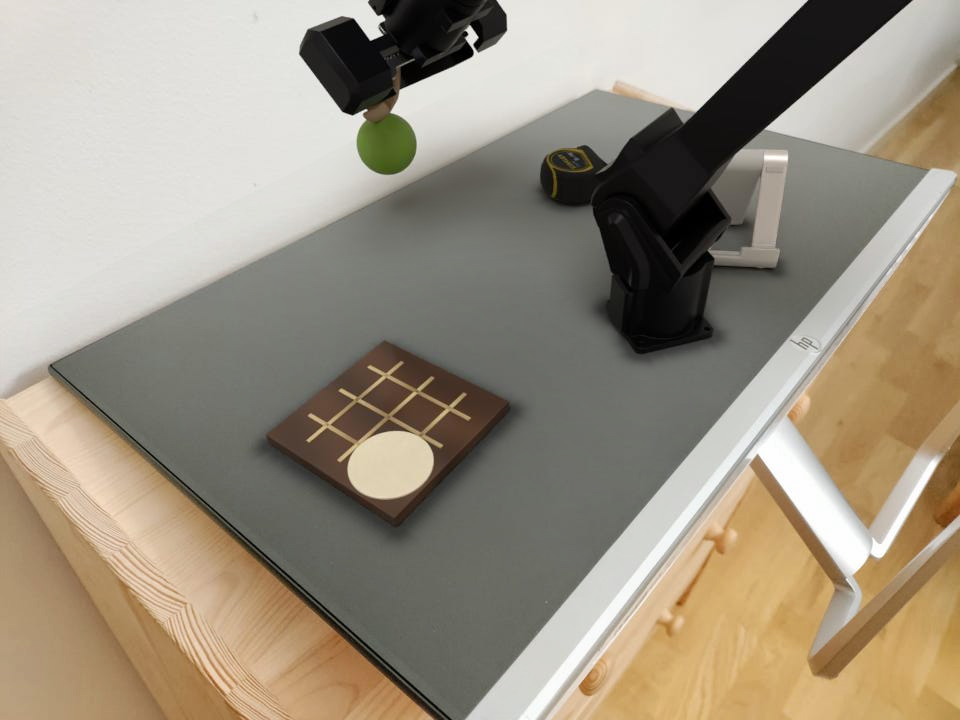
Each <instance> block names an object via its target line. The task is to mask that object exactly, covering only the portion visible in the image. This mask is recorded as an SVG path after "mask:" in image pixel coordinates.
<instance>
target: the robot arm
mask: <svg viewBox="0 0 960 720" xmlns="http://www.w3.org/2000/svg"><path fill="white" fill-rule="evenodd" d="M913 1H914V0H806V2H804V3H803V5H801V7H799V8H798V9H797V11H795V13H793V15H792V16H791V17H789V18H788V19H787V20H786V21H785V22H784V23H783V25H781V27H780V28H778V29H777V31H775V32H774V34H772V35H771V37H769V38H768V39H767V41H765V42H764V43H763V44H762V45H761V46H760V47H759V48H758V49H757V50H756V52H755V53H753V55H751V56H750V57H749V59H747V60H746V61H745V62H744V63H743V64H742V66H740V67H739V69H737V70H736V72H735V73H733V75H732V76H730V77H729V78H728V79H727V80H726V82H725V83H723V85H721V86H720V87H719V89H717V90H716V91H715V93H714V94H712V95H711V97H710V98H708V100H707V101H705V103H703V105H701V106H700V108H698V109H697V110H696V112H695V113H693V114H692V115H691V116H690V117H689V118H687V119H685V121H683V120H682V119H681V117H680V116H679V114H678V112H677V111H676V109H675V108H674V107H673V106H670V107H669V108H668V109H667V110H666V111H664V112H663V113H661V114H660V115H659V116H658V117H656V118H655V119H653V120H652V121H651V122H650V123H648V124H647V125H646V126H645V127H643V128H642V129H640V130H639V131H638V132H636V133H635V134H634V135H632V136H631V137H630V138H629V139H628V140H627V142H626V143H625V144H624V146H623V147H622V149H621V150H620V152H619V153H618V155H617V157H615V158H614V159H613V160H612V161H611V162H609V163H607V164H608V165H607V166H605V167H604V168H603V169H601V170H600V171H599V172H598V173H596V174H595V176H594V177H595V179H597V180H600V181H602V183H601V184H600V185H598V186H597V188H596V189H595V191H594V192H593V194H592V198H591V200H589V201H590V205H591V207H592V216H593V218H594V220H595V223H596V226H597V228H598V230H599V233H600V237H601V241H602V245H603V248H604V252H605V256H606V259H607V263H608V267H609V270H610V273H611V274H612V275H611V281H610V291H609V292H610V293H609V299H607V300H605V304H604V305H605V309H606V311H607V312H608V316H609V318H610V319H611V320H612V322H613V323H614V325H615V326H616V328H617V329H618V331H619V332H620V333H621V334H622V335H624V337H625V339H626V340H627V341H628V343H629V344H630V346H631V347H632V348H633V350H634V351H635V352H636V353H639V354H640V353H641V354H642V353H643V354H644V353H647V352H651V351H656V350H661V349H664V348H668V347H673V346H677V345H681V344H685V343H689V342H694V341H698V340H703V339H706V338H710V337H712V336H713V334H714V330H715V329H714V327H713V326H712V325H711V324H710V322H709V321H708V320H707V319H706V317H705V311H706V305H707V302H708V301H707V300H708V295H709V291H710V285H711V281H712V275H713V270H714V266H715V265H714V261H715V258H714V257H713V256H712V255H711V254H710V253H709V252H708V251H707V250H708V249H709V248H710V247H711V248H712V246H713V245H714V244H715V243H717V242H718V241H719V240H720V239H721V238H722V237H723V235H724V234H725V232H726V231H727V229H728V228H729V226H731V225H730V223H731V221H732V219H731V217H730V215H729V214H728V212H727V211H726V210H725V208H724V207H723V205H722V204H721V202H720V201H719V199H718V198H717V197H716V195H715V194H714V192H713V191H712V189H711V187H712V186H713V185H714V183H715V182H716V181H717V180H718V178H719V177H720V176H721V175H722V173H723V172H724V170H725V169H726V167H727V166H728V164H729V163H730V161H731V160H732V158H733V157H734V156H735V154H736V153H737V152H739V151H740V150H741V149H744V148H745V147H746V146H747V145H748V144H749V143H751V142H752V141H753V140H754V139H755V138H756V137H757V136H758V135H760V134H761V133H762V132H763V131H764V130H766V128H768V127H769V126H770V125H771V124H772V123H774V122H775V121H776V120H777V119H778V118H779V117H781V115H783V114H784V113H785V112H786V111H787V110H788V109H790V108H791V107H792V106H793V105H794V104H796V103H797V102H798V101H799V100H800V99H801V98H802V97H804V96H805V95H806V94H807V93H808V92H809V91H810V90H812V89H813V88H814V87H815V86H816V85H817V84H819V83H820V82H821V81H822V80H824V78H825V77H826V76H828V75H829V74H830V73H831V72H832V71H833V70H835V69H836V68H837V67H838V66H839V65H840V64H842V63H843V62H844V61H845V60H846V59H848V57H850V56H851V55H852V54H853V53H854V52H856V51H857V50H858V49H859V48H860V47H861V46H863V45H864V44H865V43H866V42H867V41H868V40H869V39H870V38H872V37H873V36H874V35H875V34H876V33H877V32H878V31H880V30H881V29H882V28H883V27H884V26H885V25H886V24H887V23H889V22H891V20H892V19H893V18H895V17H896V16H897V15H898V14H900V12H901V11H903V10H904V9H905V8H906V7H908V6H909V5H910V4H911V3H912V2H913ZM367 3H368V6H369V7H370V8H371V9H372V11H373V12H374V13H375V15H376V16H377V17H380V16H382V17H383V18H384V20H383V21H381V22H379V24H378V25H377V29H378V31H379V32H380V33H381V36H378V37H376V38H374V39H370V38H369V36H368V35H367V34H366V32H365V31H364V30H363V28H362V27H361V25H360V24H359V23H358V21H357V20H356V19H355V18H354V17H349V16H344V15H341V16H337V17H335V18H333V19H329V20H328V21H325V22H322V23H320V24H317V25H315V26H312V27H309V28H307V29H306V31H305V33H304V36H303V38H302V40H301V42H300V44H299V50H298V55H299V56H300V58H301V59H302V60H303V62H304V63H305V65H306V66H307V67H308V69H309V70H310V72H312V74H313V75H314V76H315V78H316V79H317V81H318V82H319V83H320V84H321V86H322V87H323V89H325V91H326V92H327V94H328V96H330V98H331V99H332V101H333V102H334V103H335V104H336V106H337V107H338V108H339V110H340V111H341V113H344V114H346V115H349V116H352V117H353V116H356V115H357V114H359V113H361V112H363V111H365V110H367V108H369V107H374V106H376V105H378V104H380V103H382V102H384V101H386V100H388V99H390V98H392V97H394V96H396V95H397V93H396V92H395V90H394V89H393V80H394V79H395V77H396V76H397V71H396V68H398V67H401V80H400V90H403V89H405V88H409V87H410V86H412V85H415V84H417V83H419V82H421V81H424V80H425V79H429V78H430V77H433V76H435V75H437V74H440V73H443V72H445V71H447V70H449V69H451V68H454V67H455V66H458V65H460V64H462V63H464V62H465V61H467V60H470V59H471V58H473V56H474V55H475V51H476V52H477V53H478V54H480V53H482V52H483V51H486V50H487V49H489V48H491V47H493V46H496V45H497V43H499V41H500V40H501V39H502V38H503V36H504V35H505V34H506V33H507V32H508V15H507V13H506V11H505V10H504V9H503V7H502V6H501V4H500V3H499V1H498V0H368V1H367ZM469 27H471V29H472V31H473V32H474V33H475V35H476V36H477V39H476V40H475V41H474V42H473V44H472V45H471V44H470V43H469V41H468V40H467V38H468V36H469V35H470V34H469V32H468V31H467V30H468V28H469ZM472 46H473V47H472ZM473 48H474V49H475V51H474V49H473Z"/></svg>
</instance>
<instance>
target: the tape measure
mask: <svg viewBox="0 0 960 720" xmlns="http://www.w3.org/2000/svg"><path fill="white" fill-rule="evenodd" d="M608 164H609V163H607V162H606V161H605V160H603V158H601V157H600V156H599V155H598V154H597V153H596V152H595V151H594V150H593V149H592V148H591V146H588V145H587V144H583V145H579V146H576V147H565V148H564V147H563V148H558V149H555V150H553V151H551V152H550V153H548V154H546V155H545V157H544V158H543V160H542V162H541V164H540V170H539V180H540V181H539V182H540V184H541V187H542V189H543V191H544V192H545V193H546V194H547V195H548V196H549V197H551V198H553V199H554V200H557V201H559V202H564V203H569V204H570V203H571V204H572V203H573V204H575V203H576V204H578V203H579V204H581V203H587V202H589V201H591V198H592V194H593V192H594V191H595V189H596V188H597V186H598V185H600V184H601V183H602V181H600V180H597V179H595V177H594V176H595V174H596V173H598V172H599V171H600V170H601V169H603V168H604V167H605V166H607V165H608Z"/></svg>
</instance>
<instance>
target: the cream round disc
mask: <svg viewBox="0 0 960 720" xmlns="http://www.w3.org/2000/svg"><path fill="white" fill-rule="evenodd" d="M433 466H434V456H433V452H432V450H431V448H430V446H429V445H428V444H427V442H426V441H425V440H423V439H422V438H421V437H419V436H417V435H415V434H412V433H409V432H404V431H389V432H384V433H380V434H377V435H375V436H372V437H370V438H368V439H367V440H365V441H364V442H363V443H361V444H360V445H359V446H358V447H357V448H356V449H355V451H354V452H353V453H352V455H351V457H350V460H349V463H348V476H349V480H350V482H351V484H352V485H353V487H354V488H355V489H356V490H357V491H359V492H360V493H361V494H363V495H365V496H368V497H370V498H374V499H381V500H388V499H396V498H400V497H403V496H406V495H408V494H410V493H412V492H414V491H416V490H417V489H418V488H420V487H421V486H422V485H423V484H424V483H425V482H426V481H427V480H428V478H429V476H430V475H431V473H432V470H433Z"/></svg>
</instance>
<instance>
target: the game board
mask: <svg viewBox="0 0 960 720" xmlns="http://www.w3.org/2000/svg"><path fill="white" fill-rule="evenodd" d="M509 412H510V401H509V400H507V399H505V398H504V397H502V396H499V395H498V394H495V393H493V392H491V391H489V390H487V389H485V388H483V387H481V386H479V385H477V384H475V383H473V382H471V381H469V380H466V379H465V378H462V376H461V377H460V376H459V375H457V374H454V373H452V372H451V371H448V370H446V369H445V368H442V367H440V366H438V365H436V364H434V363H432V362H430V361H428V360H426V359H424V358H422V357H420V356H418V355H416V354H414V353H412V352H410V351H408V350H406V349H403V348H401V347H400V346H398V345H395V344H393V343H391V342H390V341H387V340H386V339H383V340H382V342H380V343H379V344H377V346H375V347H373V349H371V350H370V351H369V352H367V353H366V354H365V355H364V356H362V357H361V358H360V359H358V361H356V362H355V363H353V365H351V366H350V367H348V368H347V369H346V370H345V371H343V372H342V373H341V374H339V376H338V377H336V378H335V379H334V380H332V381H331V382H330V383H328V385H326V386H324V387H323V388H322V389H321V390H320V391H318V392H317V393H316V394H314V395H313V396H312V397H311V398H310V399H308V400H307V401H306V402H305V403H303V404H302V405H301V406H300V407H298V408H297V409H296V410H295V411H293V412H292V413H290V414H289V415H288V416H287V417H286V418H284V419H283V420H282V421H281V422H279V423H278V424H277V425H276V426H275V427H273V428H272V429H270V430H269V431H268V432H266V434H265V437H266V439H267V442H268V444H269V445H271V446H272V447H274V448H275V449H276V450H278V451H280V452H281V453H283V454H284V455H286V456H287V457H289V458H290V459H292V460H293V461H295V462H297V463H298V464H300V465H301V466H302V467H304V468H306V469H307V470H308V471H310V472H312V473H313V474H314V475H316V476H318V477H319V478H321V479H322V480H324V481H325V482H327V483H328V484H330V485H331V486H332V487H334V488H336V489H337V490H339V491H341V492H342V493H344V494H345V495H346V496H348V497H349V498H351V499H353V500H354V501H356V502H357V503H359V504H360V505H362V506H363V507H365V508H366V509H368V510H369V511H371V512H373V513H374V514H375V515H377V516H379V518H381V519H383V520H385V521H386V522H388V523H389V524H390V525H392V526H394V527H398V526H399V525H400V524H401V523H402V522H403V521H404V520H405V519H406V518H407V517H408V516H409V514H411V513H412V512H413V511H414V509H415V508H416V507H417V506H419V504H420V503H421V502H422V501H423V500H424V499H425V498H426V497H427V496H428V495H429V494H430V493H431V492H432V491H433V490H434V489H435V488H436V487H437V486H438V485H439V484H440V483H441V482H442V481H443V479H444V478H446V476H447V475H449V474H450V473H451V471H452V470H453V469H454V468H455V467H456V466H457V465H458V464H459V463H460V462H461V461H463V459H464V458H465V457H466V456H467V455H468V454H469V453H470V452H471V451H472V450H473V448H475V447H476V445H477V444H478V443H480V441H481V440H483V438H484V437H486V435H487V434H488V433H489V432H490V431H491V430H492V429H493V428H494V427H495V426H496V425H497V424H498V423H499V422H500V421H501V420H502V419H503V418H504V417H505V416H506V415H507V413H509ZM389 431H404V432H409V433H412V434H415V435H417V436H419V437H421V438H422V439H423V440H425V441H426V442H427V444H428V445H429V446H430V448H431V450H432V452H433V456H434V466H433V470H432V473H431V475H430V476H429V478H428V480H427V481H426V482H425V483H424V484H423V485H422V486H421V487H420V488H418V489H417V490H416V491H414V492H412V493H410V494H408V495H406V496H403V497H400V498H396V499H388V500H381V499H374V498H370V497H368V496H365V495H363V494H361V493H360V492H359V491H357V490H356V489H355V488H354V487H353V485H352V484H351V482H350V480H349V476H348V463H349V460H350V457H351V455H352V453H353V452H354V451H355V449H356V448H357V447H358V446H359V445H360V444H361V443H363V442H364V441H365V440H367V439H368V438H370V437H372V436H375V435H377V434H380V433H384V432H389Z"/></svg>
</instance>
